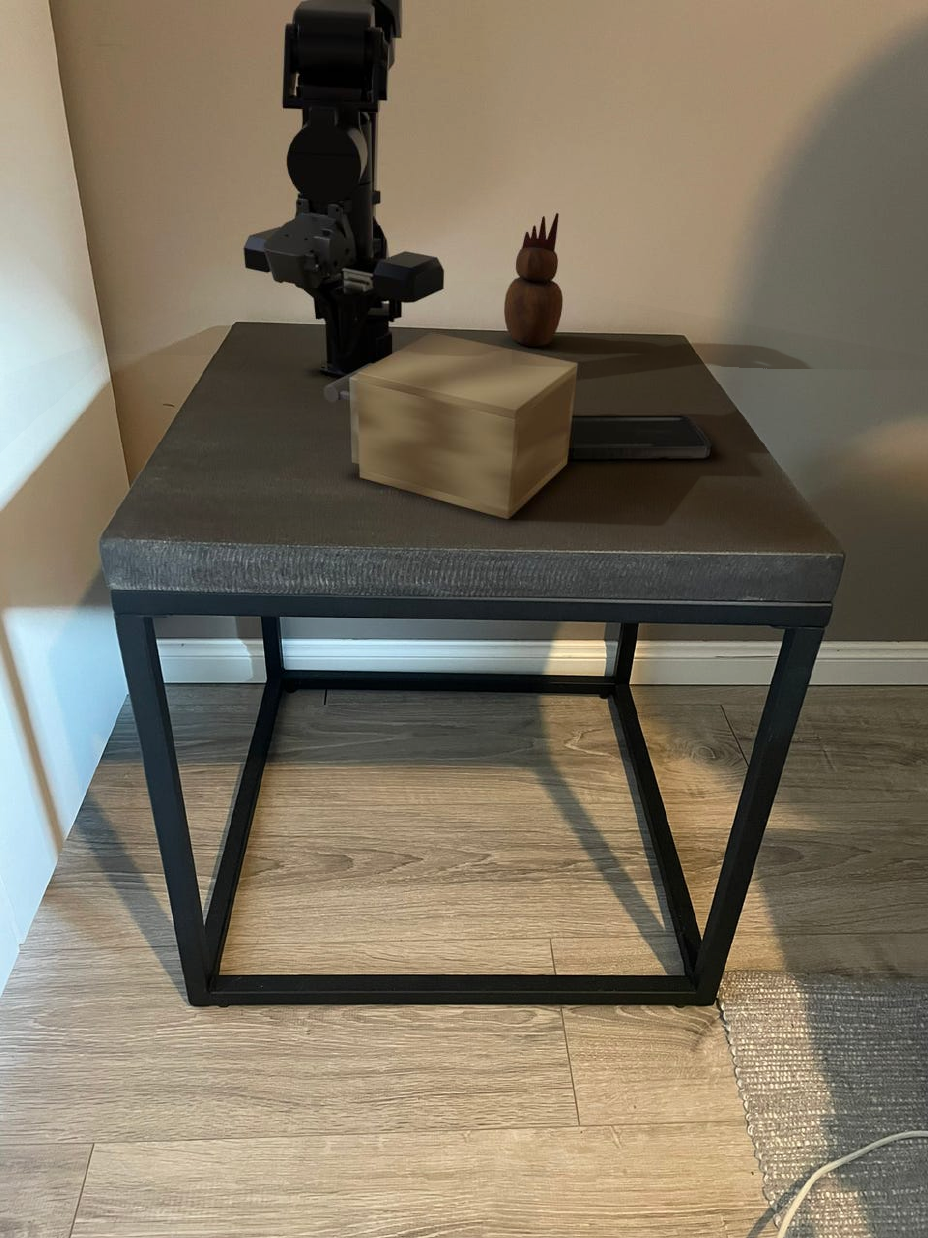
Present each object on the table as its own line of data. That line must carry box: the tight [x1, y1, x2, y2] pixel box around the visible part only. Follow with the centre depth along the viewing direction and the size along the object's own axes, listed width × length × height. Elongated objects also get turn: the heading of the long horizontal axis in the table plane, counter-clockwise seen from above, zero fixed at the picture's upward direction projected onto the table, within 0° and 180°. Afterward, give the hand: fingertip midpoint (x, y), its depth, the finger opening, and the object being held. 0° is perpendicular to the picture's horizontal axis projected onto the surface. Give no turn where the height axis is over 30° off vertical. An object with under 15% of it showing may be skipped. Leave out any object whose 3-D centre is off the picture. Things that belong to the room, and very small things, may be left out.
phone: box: [567, 414, 712, 460], centre depth 92 cm, size 8×1×15 cm
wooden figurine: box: [503, 212, 564, 347], centre depth 112 cm, size 7×6×15 cm
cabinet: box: [357, 332, 579, 520], centre depth 83 cm, size 15×13×10 cm
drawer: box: [323, 363, 374, 465], centre depth 85 cm, size 18×11×8 cm, turn 62°
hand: (344, 355), depth 91 cm, fingers closed
